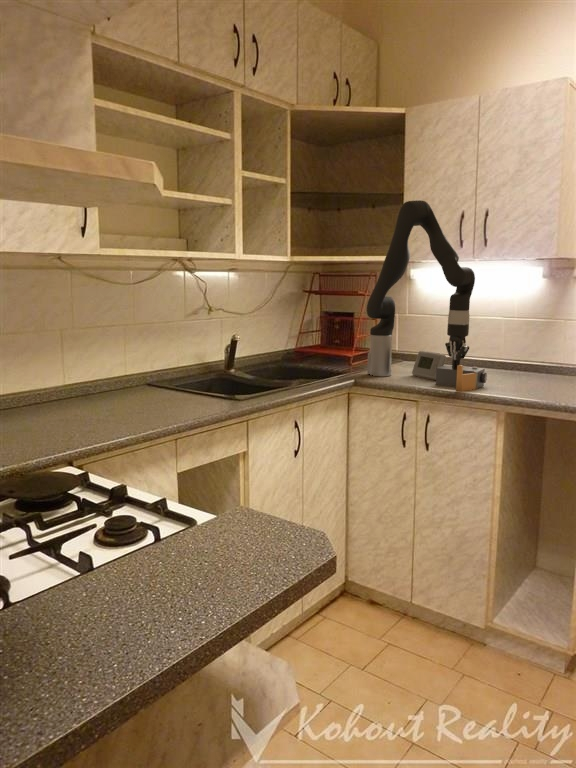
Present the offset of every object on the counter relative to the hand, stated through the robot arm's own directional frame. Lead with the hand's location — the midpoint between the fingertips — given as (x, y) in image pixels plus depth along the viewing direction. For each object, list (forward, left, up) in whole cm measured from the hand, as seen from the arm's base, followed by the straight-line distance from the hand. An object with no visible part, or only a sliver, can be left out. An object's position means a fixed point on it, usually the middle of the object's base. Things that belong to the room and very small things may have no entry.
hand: (455, 369), depth 223 cm
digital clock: (-18, +21, -8) cm, 29 cm away
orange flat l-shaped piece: (+4, +2, -8) cm, 9 cm away
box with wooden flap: (-2, +11, -8) cm, 14 cm away
